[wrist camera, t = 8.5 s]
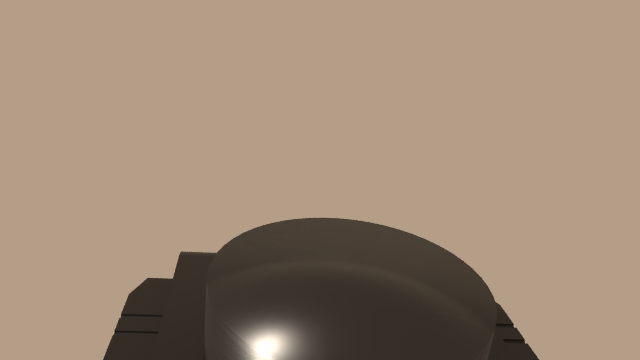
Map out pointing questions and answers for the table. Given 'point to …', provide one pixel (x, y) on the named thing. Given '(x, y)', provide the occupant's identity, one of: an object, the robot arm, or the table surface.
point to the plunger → (343, 296)
